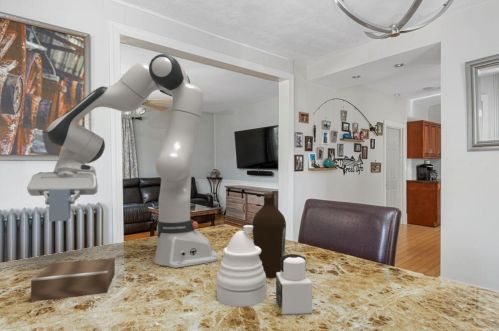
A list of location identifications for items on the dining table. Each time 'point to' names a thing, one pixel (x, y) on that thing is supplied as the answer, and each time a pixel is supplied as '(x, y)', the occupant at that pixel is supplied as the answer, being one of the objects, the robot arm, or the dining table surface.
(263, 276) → the honey pot
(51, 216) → the blue-grey rectangular block
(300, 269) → the medicine bottle
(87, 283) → the dock
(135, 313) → the dining table surface
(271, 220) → the olive oil
